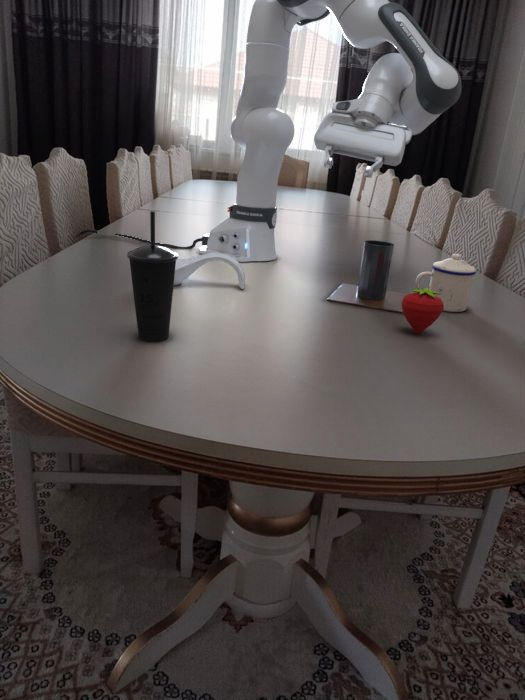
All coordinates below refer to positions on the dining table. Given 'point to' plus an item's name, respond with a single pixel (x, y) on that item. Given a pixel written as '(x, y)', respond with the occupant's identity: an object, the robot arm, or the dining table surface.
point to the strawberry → (422, 308)
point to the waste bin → (375, 270)
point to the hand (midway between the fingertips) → (347, 171)
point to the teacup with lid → (451, 282)
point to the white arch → (192, 264)
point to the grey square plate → (349, 296)
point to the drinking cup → (152, 287)
